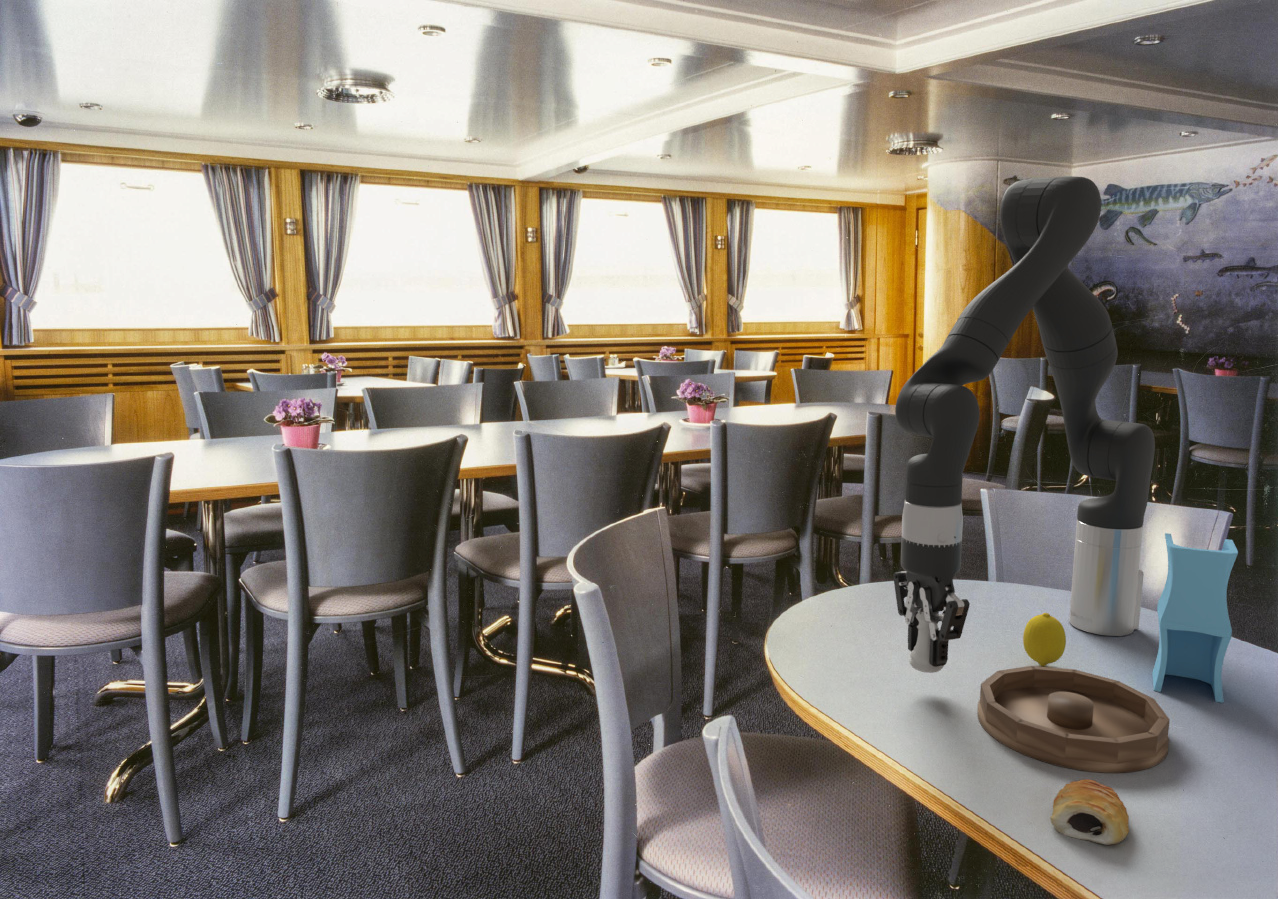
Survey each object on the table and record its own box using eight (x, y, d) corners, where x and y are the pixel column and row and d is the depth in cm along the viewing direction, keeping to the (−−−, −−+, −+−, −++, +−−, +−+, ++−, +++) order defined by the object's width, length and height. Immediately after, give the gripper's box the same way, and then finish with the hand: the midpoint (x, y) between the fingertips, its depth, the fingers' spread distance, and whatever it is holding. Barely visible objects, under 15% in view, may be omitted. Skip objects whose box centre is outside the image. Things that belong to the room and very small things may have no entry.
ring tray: (1074, 681, 120) (1076, 657, 119) (1212, 756, 100) (1215, 727, 99) (942, 701, 114) (944, 676, 113) (1061, 785, 94) (1064, 755, 93)
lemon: (1068, 675, 121) (1072, 621, 120) (1026, 672, 123) (1029, 618, 121) (1058, 659, 127) (1061, 607, 125) (1017, 657, 128) (1021, 605, 127)
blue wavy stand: (1217, 679, 120) (1232, 539, 116) (1223, 702, 113) (1240, 554, 110) (1151, 668, 123) (1164, 532, 120) (1153, 690, 117) (1167, 546, 113)
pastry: (1060, 789, 94) (1063, 756, 93) (1131, 808, 90) (1135, 774, 90) (1047, 833, 86) (1050, 798, 85) (1125, 856, 82) (1129, 819, 82)
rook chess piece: (944, 661, 118) (946, 606, 117) (943, 675, 114) (946, 617, 112) (909, 657, 120) (911, 602, 118) (908, 671, 115) (910, 614, 114)
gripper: (992, 546, 108) (985, 675, 111) (924, 518, 121) (919, 634, 124) (939, 552, 106) (934, 684, 109) (876, 523, 119) (873, 641, 122)
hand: (926, 656), depth 116 cm, fingers closed on rook chess piece, 4 cm apart
